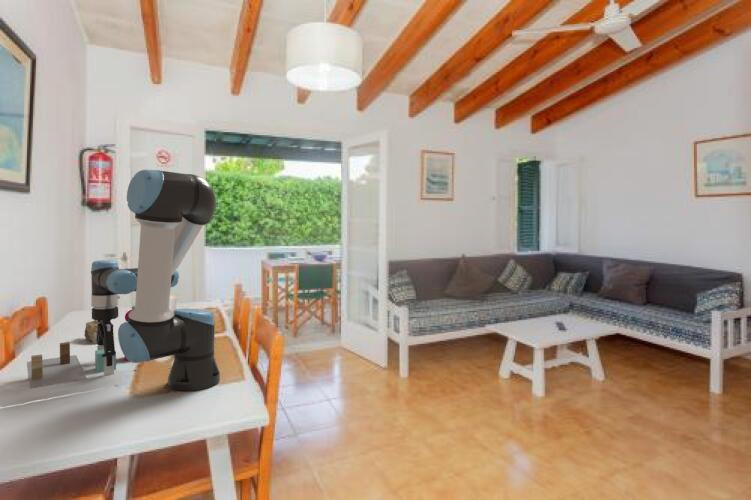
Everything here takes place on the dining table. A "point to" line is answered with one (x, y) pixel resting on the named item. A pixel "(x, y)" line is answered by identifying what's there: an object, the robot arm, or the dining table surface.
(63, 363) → the post walnut
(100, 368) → the mint green foam cube
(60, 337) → the dining table surface
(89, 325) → the rock
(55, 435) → the dining table surface
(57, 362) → the stand
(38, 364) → the post beech
